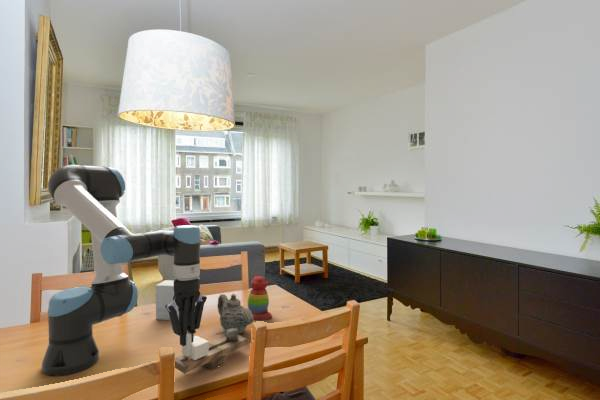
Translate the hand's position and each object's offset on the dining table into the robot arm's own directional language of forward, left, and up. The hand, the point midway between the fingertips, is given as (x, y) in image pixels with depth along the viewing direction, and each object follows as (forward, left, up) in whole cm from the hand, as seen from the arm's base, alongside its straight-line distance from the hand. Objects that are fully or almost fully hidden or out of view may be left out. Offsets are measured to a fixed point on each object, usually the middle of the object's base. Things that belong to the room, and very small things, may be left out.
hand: (186, 354), depth 103 cm
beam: (+9, 0, -7) cm, 11 cm away
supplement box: (+22, +47, -7) cm, 53 cm away
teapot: (+30, +14, -7) cm, 34 cm away
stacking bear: (+48, +18, -7) cm, 52 cm away
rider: (+3, 0, -3) cm, 4 cm away
